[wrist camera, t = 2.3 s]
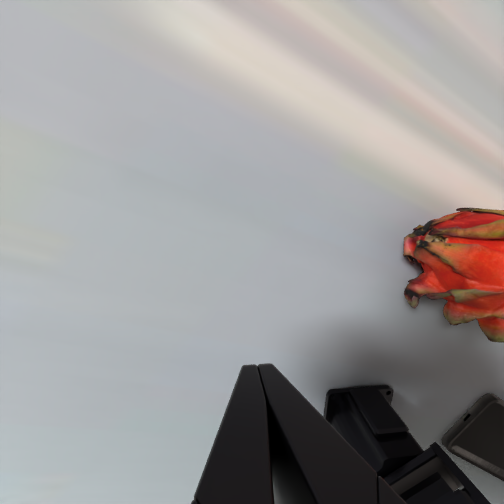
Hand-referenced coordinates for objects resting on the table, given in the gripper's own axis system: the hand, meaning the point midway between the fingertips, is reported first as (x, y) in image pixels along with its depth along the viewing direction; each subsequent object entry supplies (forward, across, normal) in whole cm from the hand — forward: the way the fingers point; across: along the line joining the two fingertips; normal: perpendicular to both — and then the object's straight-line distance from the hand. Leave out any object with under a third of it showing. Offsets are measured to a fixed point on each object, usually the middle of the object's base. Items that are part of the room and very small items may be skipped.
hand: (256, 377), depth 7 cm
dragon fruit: (+12, -17, 0) cm, 21 cm away
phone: (+13, -31, +22) cm, 40 cm away
